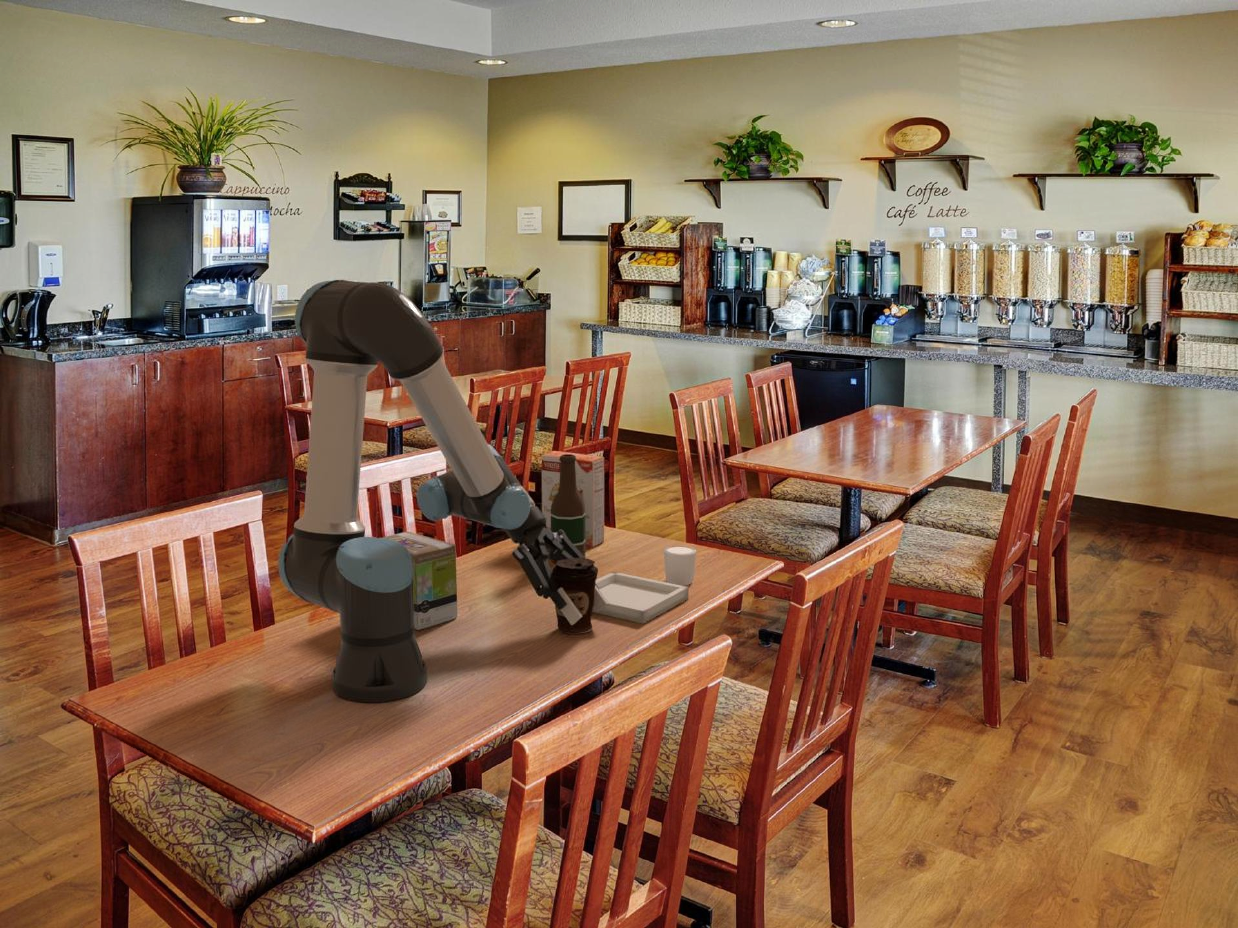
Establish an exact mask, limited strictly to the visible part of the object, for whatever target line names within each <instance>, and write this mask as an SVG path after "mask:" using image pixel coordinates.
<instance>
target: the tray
mask: <svg viewBox="0 0 1238 928" xmlns="http://www.w3.org/2000/svg"><path fill="white" fill-rule="evenodd" d="M596 585H597V586H598V588H599V590H600V592H601V593H602V594H603V596H604V597H605V598H606V600H607V601H608V602H609V603H608V604H607V605H606V606H605V607H604V608H603V609H602V610H601V611H599V612H598V611H597V610H596V608H595V607H594V606H593V610H592V613H595V614H600V615H604V616H607V617H612V618H617V619H621V620H625V621H629V622H633V621H634V622H635V623H639V624H642V625H643V623H644V624H646V623H648V622H649V620H650V619H651V620H653V619H655V618H657V617H658V615H659V616H660V615H663V614H664V613H666V612H668V611H669V610H672V609H673V608H675V607H676V605H677V606H679V605H680V604H682V603H683V602H682V601H684V602H686V601H687V599H688V600H689V597H690V596H689V591H690V588H689V586H681V585H676V584H671V583H667V582H666V581H661V580H657V579H651V578H645V577H641V576H636V575H631V574H626V573H621V572H617V571H612V572H610V573H607V574H606V575H603V576H601V577H599V578H597V579H596ZM685 600H686V601H685ZM681 602H682V603H681ZM679 603H680V604H679ZM678 604H679V605H678ZM667 610H668V611H667ZM656 616H657V617H656ZM651 620H650V621H651ZM647 621H648V622H647Z"/></svg>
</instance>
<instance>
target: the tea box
mask: <svg viewBox="0 0 1238 928" xmlns="http://www.w3.org/2000/svg"><path fill="white" fill-rule="evenodd" d="M381 538H386V539H391V540H394V541H396V542H398V543H400V544H402V545H403V546H405V547H406V548H407V550H408V551H409V553H410V555H411V561H412V568H413V572H414V575H413V599H414V630H417V631H419V630H424V629H427V628H430V627H434V626H437V625H440V624H443V623H445V622H446V623H447V622H450V621H452V620H454V619H457V618H458V587H457V586H458V584H457V581H458V580H457V552H456V551H457V549H456V548H457V547H456V544H455V543H450V542H448V541H443V540H439V539H436V538H433V537H430V536H425V535H422V534H418V533H416V532H411V531H404V532H399V533H395V534H391V535H388V536H383V537H378V539H381Z"/></svg>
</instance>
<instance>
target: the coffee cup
mask: <svg viewBox="0 0 1238 928" xmlns="http://www.w3.org/2000/svg"><path fill="white" fill-rule="evenodd" d="M595 563H596V562H595V561H594V560H593V559H590V558H586V557H585V558H569V559H565V560H559V561H557V562H556V563H555V565H554V567H553V569H552V570H551V571H552V573H553V576H554V579H555V582H556V585H557V590H558V589H559V588H561V587H562V588H563V590H564V591H565V593H566V594H567V595H568V597H569V598H570V600H571V601H572V602H573V604H574V605H575V606H576V608H577V609H578V611H579V612H580V613H581V615H582V617H581V618H580V619H579V620H578V621H577V622H576V623H575V624H573V625H571V624H570V623H569V621H568V620H567V618H566V617H565V616H564V614H563V613H562V611H561V610H559V609H558V608H557V607H556V605H555V604H554V607H555V614H556V618H557V620H556V621H557V628H558V631H560V632H562V633H565V634H570V635H571V634H573V635H576V634H578V635H579V634H580V635H581V634H585V633H589V632H591V631H592V630H593V625H592V615H593V612H592V610H593V606H594V600H595V583H596V580H597V579H598V574H599V572H598V571H599V568H598V567H597V566H595V565H594V564H595Z"/></svg>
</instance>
